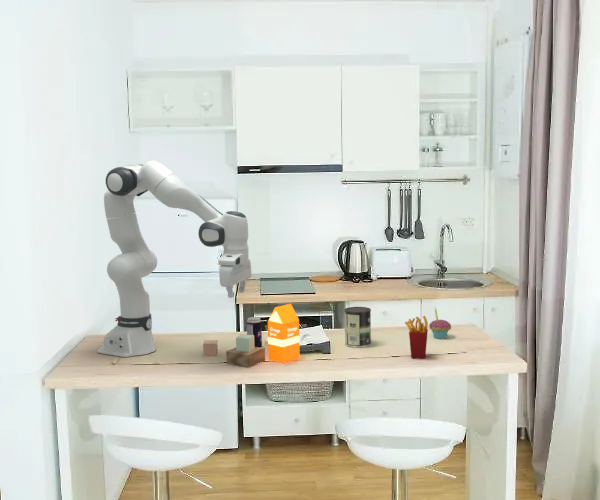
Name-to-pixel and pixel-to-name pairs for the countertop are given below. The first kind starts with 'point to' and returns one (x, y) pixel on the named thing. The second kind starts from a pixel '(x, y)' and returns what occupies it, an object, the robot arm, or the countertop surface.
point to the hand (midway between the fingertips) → (236, 294)
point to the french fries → (418, 338)
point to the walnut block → (245, 357)
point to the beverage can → (255, 330)
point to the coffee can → (357, 327)
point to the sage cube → (245, 343)
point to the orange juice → (283, 334)
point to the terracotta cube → (210, 348)
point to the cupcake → (439, 327)
